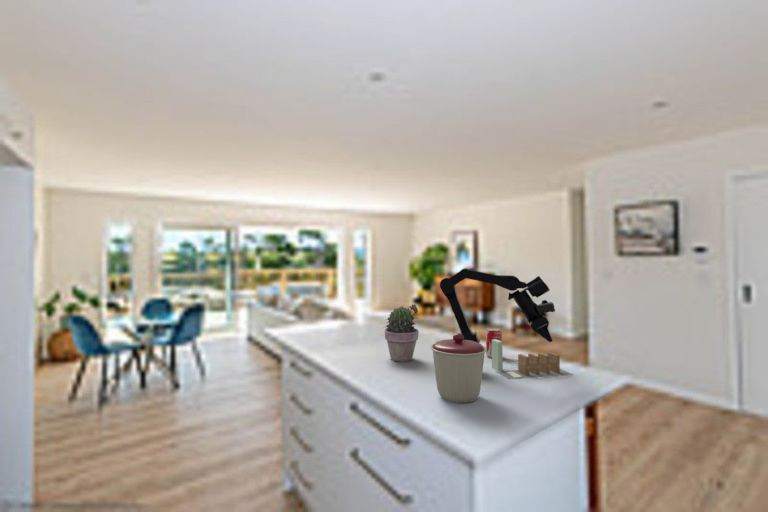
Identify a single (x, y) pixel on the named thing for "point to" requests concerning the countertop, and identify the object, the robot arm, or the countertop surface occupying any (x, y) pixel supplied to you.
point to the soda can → (491, 335)
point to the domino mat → (516, 375)
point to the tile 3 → (534, 364)
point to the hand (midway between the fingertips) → (549, 339)
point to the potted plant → (401, 334)
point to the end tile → (554, 362)
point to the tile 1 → (497, 355)
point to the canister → (458, 368)
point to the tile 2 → (523, 364)
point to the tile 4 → (544, 363)
